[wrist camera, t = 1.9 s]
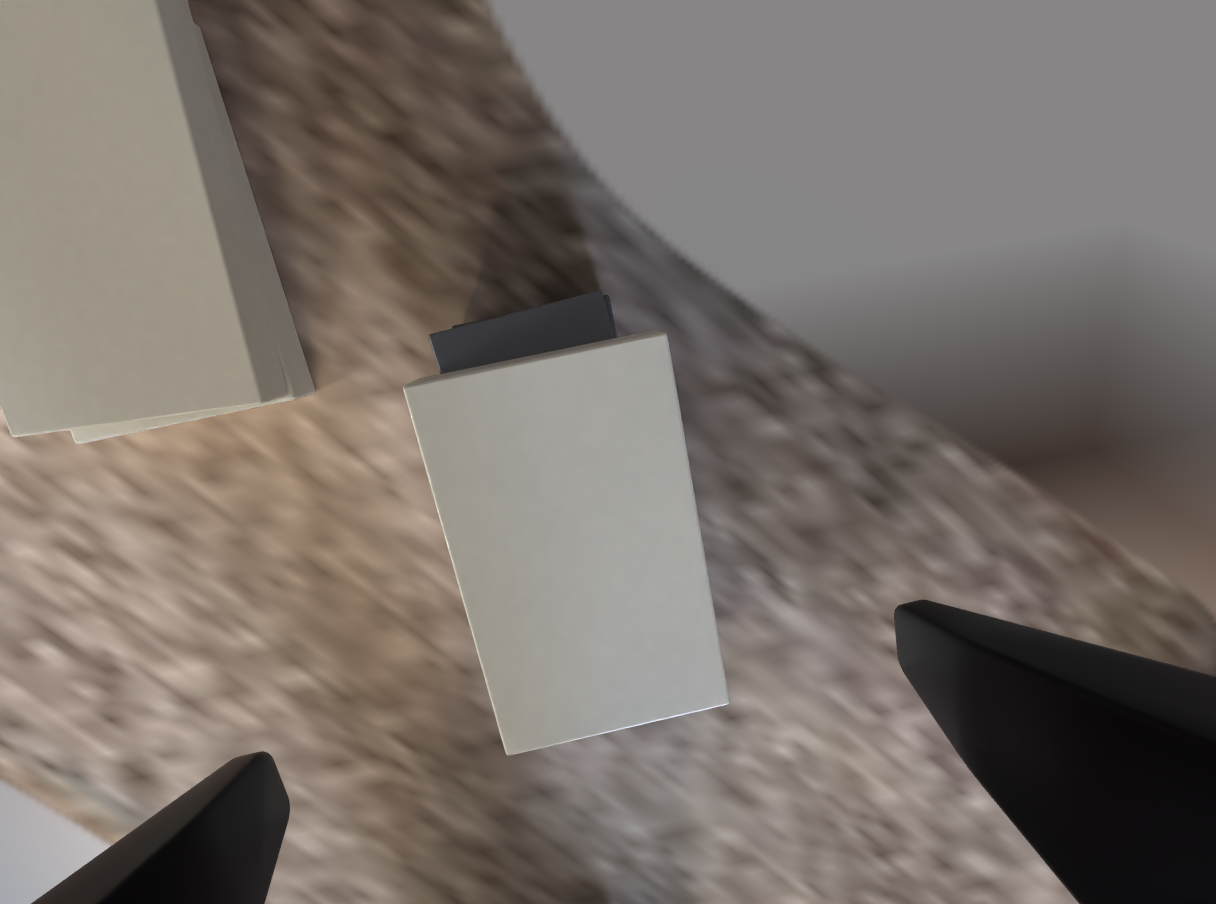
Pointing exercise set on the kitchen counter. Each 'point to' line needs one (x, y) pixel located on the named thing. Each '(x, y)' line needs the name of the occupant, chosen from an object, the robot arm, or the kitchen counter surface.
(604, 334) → the dark grey rectangular block
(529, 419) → the white book
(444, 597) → the kitchen counter surface
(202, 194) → the cream flat block
